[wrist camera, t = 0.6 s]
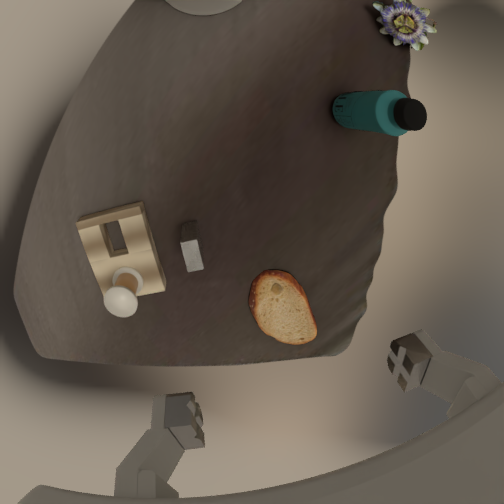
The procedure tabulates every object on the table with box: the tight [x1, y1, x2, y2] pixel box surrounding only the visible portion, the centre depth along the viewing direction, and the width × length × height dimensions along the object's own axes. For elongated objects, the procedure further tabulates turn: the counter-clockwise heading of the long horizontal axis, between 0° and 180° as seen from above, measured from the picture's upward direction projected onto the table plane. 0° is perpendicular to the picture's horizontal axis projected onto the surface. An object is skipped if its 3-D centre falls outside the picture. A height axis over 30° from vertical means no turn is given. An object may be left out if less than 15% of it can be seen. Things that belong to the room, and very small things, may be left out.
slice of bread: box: [249, 270, 317, 345], centre depth 60 cm, size 18×18×4 cm
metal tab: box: [180, 221, 204, 272], centre depth 48 cm, size 5×2×8 cm, turn 8°
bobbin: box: [104, 266, 143, 317], centre depth 46 cm, size 6×6×7 cm
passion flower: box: [373, 0, 437, 51], centre depth 35 cm, size 11×11×12 cm
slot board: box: [76, 201, 167, 296], centre depth 49 cm, size 16×12×3 cm
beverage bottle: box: [333, 90, 427, 136], centre depth 37 cm, size 6×7×20 cm
